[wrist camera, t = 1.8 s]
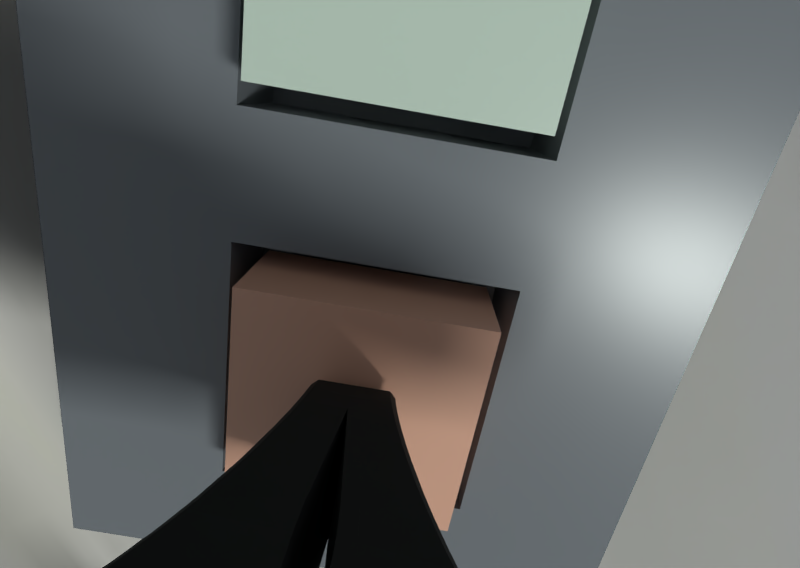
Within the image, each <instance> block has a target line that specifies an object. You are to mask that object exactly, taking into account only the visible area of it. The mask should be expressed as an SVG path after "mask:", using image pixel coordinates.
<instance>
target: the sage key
mask: <svg viewBox="0 0 800 568" xmlns="http://www.w3.org/2000/svg"><path fill="white" fill-rule="evenodd" d="M591 1H592V0H244V16H243V41H242V65H241V81H245V82H251V83H257V84H262V85H268V86H273V87H279V88H285V89H290V90H296V91H302V92H307V93H313V94H319V95H324V96H330V97H336V98H341V99H347V100H352V101H358V102H364V103H369V104H375V105H381V106H386V107H392V108H398V109H403V110H409V111H415V112H420V113H426V114H431V115H437V116H443V117H448V118H454V119H460V120H465V121H471V122H477V123H482V124H488V125H494V126H499V127H505V128H510V129H516V130H522V131H527V132H533V133H539V134H544V135H550V136H555V134H556V130H557V127H558V123H559V119H560V116H561V112H562V108H563V105H564V101H565V97H566V94H567V90H568V86H569V83H570V79H571V75H572V71H573V68H574V64H575V60H576V57H577V53H578V49H579V46H580V42H581V38H582V35H583V31H584V27H585V24H586V20H587V16H588V13H589V9H590V5H591Z"/></svg>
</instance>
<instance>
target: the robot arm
mask: <svg viewBox="0 0 800 568" xmlns="http://www.w3.org/2000/svg"><path fill="white" fill-rule="evenodd" d="M327 541H328V544H327ZM326 544H327V553H326V561H325V568H458V567H457V565H456V563H455V561H454V559H453V557H452V555H451V553H450V551H449V549H448V547H447V545H446V542H445V540H444V538H443V536H442V534H441V531H440V529H439V527H438V525H437V523H436V521H435V518H434V516H433V514H432V512H431V509H430V507H429V505H428V502H427V500H426V497H425V495H424V492H423V490H422V487H421V485H420V482H419V479H418V477H417V474H416V471H415V469H414V466H413V464H412V461H411V458H410V455H409V452H408V449H407V446H406V443H405V439H404V436H403V433H402V429H401V425H400V422H399V417H398V413H397V407H396V399H395V397H394V396H393V394H392V393H391V392H390V391H385V390H379V389H373V388H367V387H361V386H355V385H349V384H343V383H337V382H331V381H325V380H317V381H316V382H314V383H312V384H311V385H310V386H309V388H308V389H307V390H306V392H305V393H304V394H303V395H302V396H301V397H300V399H299V400H298V401H297V402H296V403H295V404H294V405H293V406H292V408H291V409H290V410H289V411H288V412H287V413H286V414H285V415H284V416H283V417H282V418H281V419H280V420H279V421H278V422H277V424H276V425H275V426H274V427H273V428H272V429H271V430H270V431H268V432H267V433H266V434H265V435H264V436H263V437H262V438H261V439H260V440H259V441H258V442H257V443H256V444H255V445H254V446H253V447H252V448H251V449H250V450H249V451H248V452H247V453H246V454H245V455H244V456H243V457H242V458H241V459H239V460H238V461H237V462H236V463H235V464H234V465H233V466H232V467H230V468H229V469H228V470H227V471H226V472H225V473H223V474H222V475H221V476H220V477H219V478H218V479H217V480H215V481H214V482H213V483H212V484H211V485H210V486H208V487H207V488H206V489H205V490H204V491H203V492H202V493H200V494H199V495H198V496H197V497H196V498H195V499H193V500H192V501H191V502H190V503H188V504H187V505H186V506H185V507H183V508H182V509H181V510H180V511H178V512H177V513H176V514H175V515H173V516H172V517H171V518H170V519H168V520H167V521H166V522H164V523H163V524H162V525H161V526H159V527H158V528H157V529H155V530H154V531H153V532H151V533H150V534H149V535H147V536H146V537H145V538H143V539H142V540H140V541H139V542H138V543H136V544H135V545H134V546H132V547H131V548H130V549H128V550H127V551H126V552H124V553H123V554H121V555H120V556H119V557H117V558H116V559H115V560H113V561H112V562H110V563H109V564H107V565H106V566H104V567H103V568H319V567H320V564H321V561H322V557H323V554H324V551H325V547H326Z"/></svg>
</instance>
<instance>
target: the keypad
mask: <svg viewBox="0 0 800 568" xmlns="http://www.w3.org/2000/svg"><path fill="white" fill-rule="evenodd" d="M16 8H17V17H18V26H19V35H20V44H21V53H22V63H23V72H24V81H25V90H26V99H27V108H28V117H29V126H30V135H31V144H32V153H33V162H34V172H35V181H36V190H37V199H38V208H39V217H40V226H41V235H42V244H43V253H44V262H45V271H46V281H47V290H48V299H49V308H50V317H51V326H52V335H53V344H54V353H55V362H56V371H57V380H58V390H59V399H60V408H61V417H62V426H63V435H64V444H65V453H66V462H67V471H68V480H69V489H70V499H71V508H72V517H73V526H74V528H78V529H85V530H91V531H97V532H104V533H110V534H116V535H123V536H129V537H135V538H142V539H143V538H145V537H146V536H147V535H149V534H150V533H151V532H153V531H154V530H155V529H157V528H158V527H159V526H161V525H162V524H163V523H164V522H166V521H167V520H168V519H170V518H171V517H172V516H173V515H175V514H176V513H177V512H178V511H180V510H181V509H182V508H183V507H185V506H186V505H187V504H188V503H190V502H191V501H192V500H193V499H195V498H196V497H197V496H198V495H199V494H200V493H202V492H203V491H204V490H205V489H206V488H207V487H208V486H210V485H211V484H212V483H213V482H214V481H215V480H217V479H218V478H219V477H220V476H221V475H222V474H223V473H225V453H226V428H227V404H228V380H229V356H230V331H231V307H232V287H233V286H234V285H235V284H236V283H237V282H238V281H239V280H240V279H241V278H242V277H243V276H244V275H245V274H246V273H247V272H248V271H249V270H250V269H251V268H252V267H253V266H254V265H255V264H256V263H257V262H258V261H259V260H260V259H261V258H262V257H263V256H264V255H265V254H266V253H267V252H268V251H269V250H271V251H277V252H283V253H289V254H295V255H301V256H306V257H312V258H318V259H324V260H330V261H336V262H342V263H347V264H353V265H359V266H365V267H371V268H377V269H382V270H388V271H394V272H400V273H406V274H412V275H418V276H423V277H429V278H435V279H441V280H447V281H453V282H459V283H464V284H470V285H476V286H482V287H487V290H488V293H489V296H490V299H491V302H492V305H493V308H494V311H495V314H496V317H497V320H498V324H499V327H500V330H501V337H500V340H499V344H498V348H497V351H496V355H495V359H494V362H493V366H492V370H491V373H490V377H489V381H488V384H487V388H486V392H485V395H484V399H483V403H482V407H481V410H480V414H479V418H478V421H477V425H476V429H475V432H474V436H473V440H472V443H471V447H470V451H469V454H468V458H467V462H466V465H465V469H464V473H463V476H462V480H461V484H460V488H459V491H458V495H457V499H456V502H455V506H454V510H453V513H452V517H451V521H450V524H449V528H448V531H443V530H440V531H441V534H442V536H443V538H444V540H445V542H446V545H447V547H448V549H449V551H450V553H451V555H452V557H453V559H454V561H455V563H456V565H457V567H458V568H598V566H599V564H600V562H601V560H602V557H603V555H604V553H605V551H606V548H607V546H608V544H609V542H610V539H611V537H612V535H613V532H614V530H615V528H616V526H617V523H618V521H619V519H620V517H621V514H622V512H623V510H624V508H625V505H626V503H627V501H628V498H629V496H630V494H631V492H632V489H633V487H634V485H635V483H636V480H637V478H638V476H639V474H640V471H641V469H642V467H643V465H644V462H645V460H646V458H647V455H648V453H649V451H650V449H651V446H652V444H653V442H654V440H655V437H656V435H657V433H658V431H659V428H660V426H661V424H662V421H663V419H664V417H665V415H666V412H667V410H668V408H669V406H670V403H671V401H672V399H673V397H674V394H675V392H676V390H677V388H678V385H679V383H680V381H681V378H682V376H683V374H684V372H685V369H686V367H687V365H688V363H689V360H690V358H691V356H692V354H693V351H694V349H695V347H696V344H697V342H698V340H699V338H700V335H701V333H702V331H703V329H704V326H705V324H706V322H707V320H708V317H709V315H710V313H711V311H712V308H713V306H714V304H715V301H716V299H717V297H718V295H719V292H720V290H721V288H722V286H723V283H724V281H725V279H726V277H727V274H728V272H729V270H730V268H731V265H732V263H733V261H734V258H735V256H736V254H737V252H738V249H739V247H740V245H741V243H742V240H743V238H744V236H745V234H746V231H747V229H748V227H749V224H750V222H751V220H752V218H753V215H754V213H755V211H756V209H757V206H758V204H759V202H760V200H761V197H762V195H763V193H764V191H765V188H766V186H767V184H768V181H769V179H770V177H771V175H772V172H773V170H774V168H775V166H776V163H777V161H778V159H779V157H780V154H781V152H782V150H783V147H784V145H785V143H786V141H787V138H788V136H789V134H790V132H791V129H792V127H793V125H794V123H795V120H796V118H797V116H798V114H799V111H800V0H592V1H591V5H590V9H589V13H588V16H587V20H586V24H585V27H584V31H583V35H582V38H581V42H580V46H579V49H578V53H577V57H576V60H575V64H574V68H573V71H572V75H571V79H570V83H569V86H568V90H567V94H566V97H565V101H564V105H563V108H562V112H561V116H560V119H559V123H558V127H557V130H556V134H555V136H550V135H544V134H539V133H533V132H527V131H522V130H516V129H510V128H505V127H499V126H494V125H488V124H482V123H477V122H471V121H465V120H460V119H454V118H448V117H443V116H437V115H431V114H426V113H420V112H415V111H409V110H403V109H398V108H392V107H386V106H381V105H375V104H369V103H364V102H358V101H352V100H347V99H341V98H336V97H330V96H324V95H319V94H313V93H307V92H302V91H296V90H290V89H285V88H279V87H273V86H268V85H262V84H257V83H251V82H245V81H241V65H242V41H243V16H244V0H16ZM327 544H328V541H327ZM327 544H326V547H325V551H324V554H323V557H322V561H321V564H320V567H324V568H325V561H326V553H327Z"/></svg>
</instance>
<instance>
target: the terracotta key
mask: <svg viewBox="0 0 800 568" xmlns="http://www.w3.org/2000/svg"><path fill="white" fill-rule="evenodd" d="M500 337H501V330H500V327H499V324H498V320H497V317H496V314H495V311H494V308H493V305H492V302H491V299H490V296H489V293H488V290H487V287H482V286H476V285H470V284H464V283H459V282H453V281H447V280H441V279H435V278H429V277H423V276H418V275H412V274H406V273H400V272H394V271H388V270H382V269H377V268H371V267H365V266H359V265H353V264H347V263H342V262H336V261H330V260H324V259H318V258H312V257H306V256H301V255H295V254H289V253H283V252H277V251H271V250H269V251H268V252H267V253H266V254H265V255H264V256H263V257H262V258H261V259H260V260H259V261H258V262H257V263H256V264H255V265H254V266H253V267H252V268H251V269H250V270H249V271H248V272H247V273H246V274H245V275H244V276H243V277H242V278H241V279H240V280H239V281H238V282H237V283H236V284H235V285H234V286H233V287H232V307H231V331H230V356H229V380H228V404H227V428H226V453H225V472H226V471H227V470H228V469H229V468H230V467H232V466H233V465H234V464H235V463H236V462H237V461H238V460H239V459H241V458H242V457H243V456H244V455H245V454H246V453H247V452H248V451H249V450H250V449H251V448H252V447H253V446H254V445H255V444H256V443H257V442H258V441H259V440H260V439H261V438H262V437H263V436H264V435H265V434H266V433H267V432H268V431H270V430H271V429H272V428H273V427H274V426H275V425H276V424H277V422H278V421H279V420H280V419H281V418H282V417H283V416H284V415H285V414H286V413H287V412H288V411H289V410H290V409H291V408H292V406H293V405H294V404H295V403H296V402H297V401H298V400H299V399H300V397H301V396H302V395H303V394H304V393H305V392H306V390H307V389H308V388H309V386H310V385H311V384H312V383H314V382H316V381H317V380H325V381H331V382H337V383H343V384H349V385H355V386H361V387H367V388H373V389H379V390H385V391H390V392H391V393H392V394H393V396H394V397H395V399H396V407H397V413H398V417H399V422H400V425H401V429H402V433H403V436H404V439H405V443H406V446H407V449H408V452H409V455H410V458H411V461H412V464H413V466H414V469H415V471H416V474H417V477H418V479H419V482H420V485H421V487H422V490H423V492H424V495H425V497H426V500H427V502H428V505H429V507H430V509H431V512H432V514H433V516H434V518H435V521H436V523H437V525H438V527H439V529H440V530H443V531H448V528H449V524H450V521H451V517H452V513H453V510H454V506H455V502H456V499H457V495H458V491H459V488H460V484H461V480H462V476H463V473H464V469H465V465H466V462H467V458H468V454H469V451H470V447H471V443H472V440H473V436H474V432H475V429H476V425H477V421H478V418H479V414H480V410H481V407H482V403H483V399H484V395H485V392H486V388H487V384H488V381H489V377H490V373H491V370H492V366H493V362H494V359H495V355H496V351H497V348H498V344H499V340H500Z"/></svg>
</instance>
